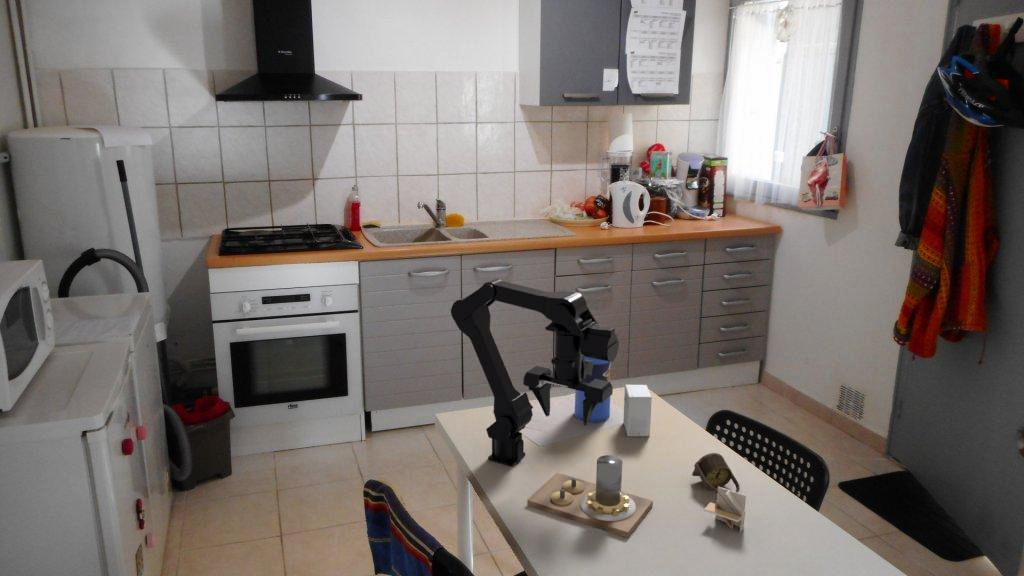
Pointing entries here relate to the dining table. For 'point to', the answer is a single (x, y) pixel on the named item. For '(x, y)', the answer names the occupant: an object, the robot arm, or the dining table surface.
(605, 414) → the water bottle
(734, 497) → the architectural model
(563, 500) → the gear board
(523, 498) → the dining table surface
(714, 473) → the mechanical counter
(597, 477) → the loose gear
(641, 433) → the small box
